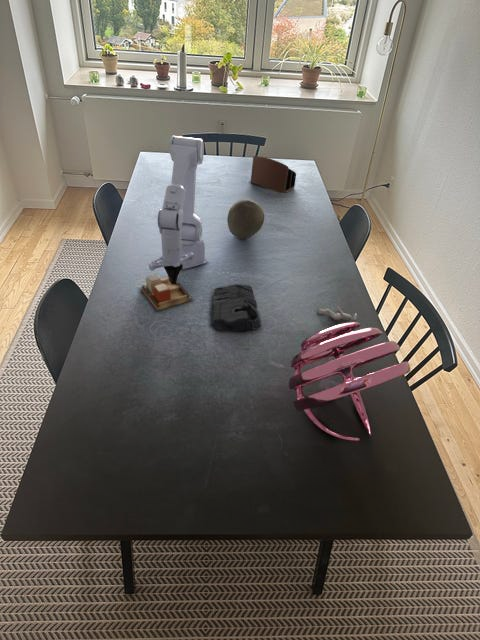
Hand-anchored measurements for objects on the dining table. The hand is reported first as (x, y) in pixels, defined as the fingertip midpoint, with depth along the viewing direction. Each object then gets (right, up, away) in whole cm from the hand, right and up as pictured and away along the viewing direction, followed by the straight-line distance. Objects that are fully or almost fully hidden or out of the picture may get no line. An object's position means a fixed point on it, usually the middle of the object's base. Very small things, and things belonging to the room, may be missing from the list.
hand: (172, 282), depth 146 cm
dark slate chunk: (+20, -9, -1) cm, 22 cm away
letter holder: (+38, +54, +77) cm, 102 cm away
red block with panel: (-3, -6, 0) cm, 7 cm away
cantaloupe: (+23, +22, +36) cm, 48 cm away
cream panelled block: (-6, -3, +3) cm, 8 cm away
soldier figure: (+52, -12, -1) cm, 54 cm away
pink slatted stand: (+46, -35, -30) cm, 65 cm away
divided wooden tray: (-3, -4, +3) cm, 5 cm away
